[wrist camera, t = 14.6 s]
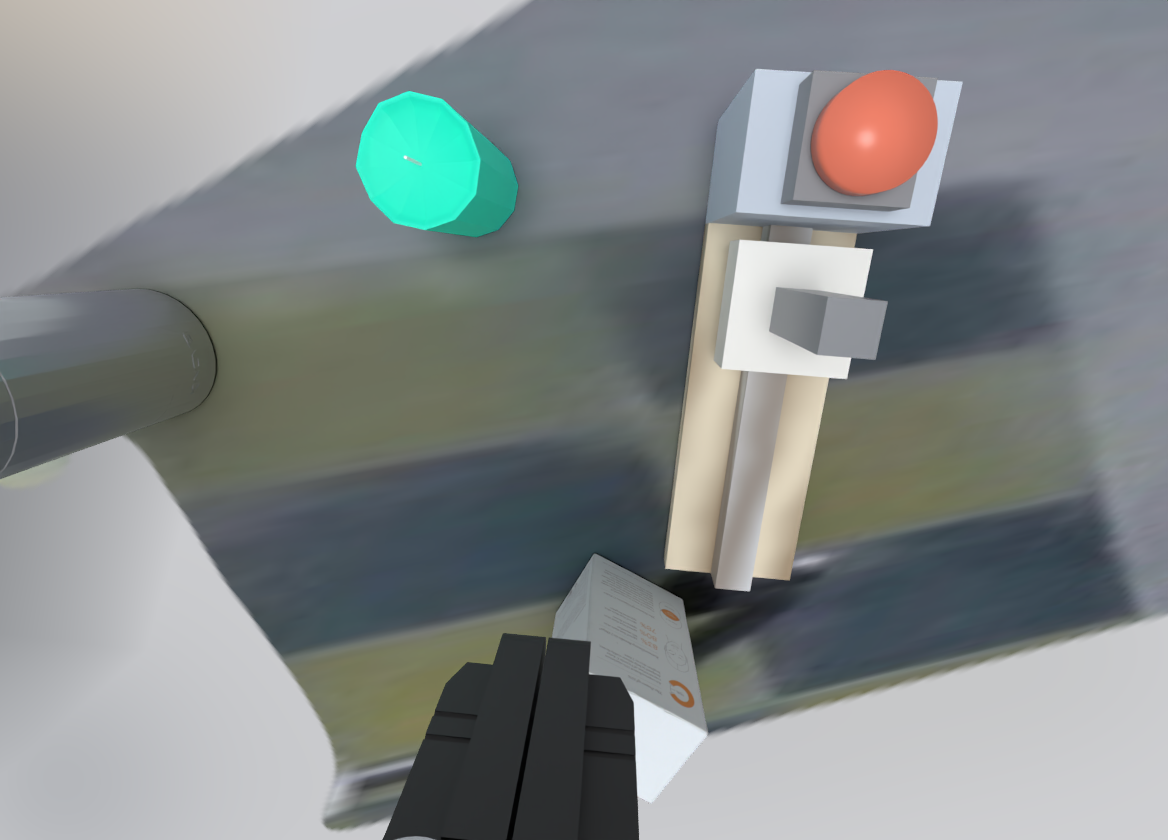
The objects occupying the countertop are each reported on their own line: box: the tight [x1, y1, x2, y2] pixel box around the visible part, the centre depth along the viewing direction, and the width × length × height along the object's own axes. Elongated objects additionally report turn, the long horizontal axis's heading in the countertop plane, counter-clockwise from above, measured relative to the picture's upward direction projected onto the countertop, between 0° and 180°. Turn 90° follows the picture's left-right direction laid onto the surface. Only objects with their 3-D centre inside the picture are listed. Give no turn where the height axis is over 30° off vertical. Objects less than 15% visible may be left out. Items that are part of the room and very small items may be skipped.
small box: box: [552, 554, 708, 803], centre depth 38 cm, size 8×6×13 cm
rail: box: [664, 223, 857, 591], centre depth 38 cm, size 9×24×4 cm, turn 176°
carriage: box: [714, 240, 888, 379], centre depth 30 cm, size 7×7×13 cm
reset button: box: [811, 70, 938, 196], centre depth 24 cm, size 4×4×3 cm
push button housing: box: [705, 69, 963, 234], centre depth 30 cm, size 9×6×12 cm, turn 86°
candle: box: [356, 91, 518, 237], centre depth 31 cm, size 6×6×12 cm
